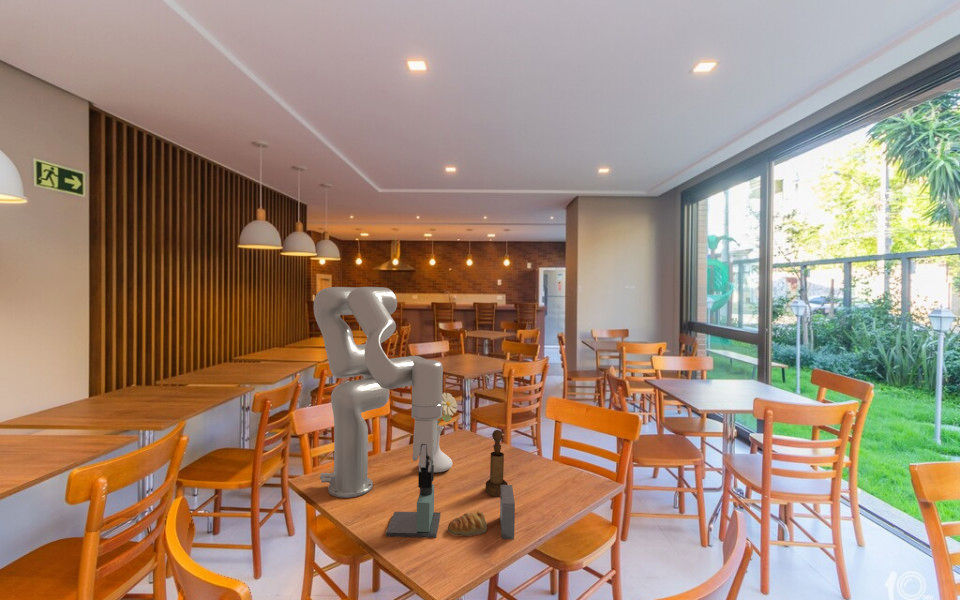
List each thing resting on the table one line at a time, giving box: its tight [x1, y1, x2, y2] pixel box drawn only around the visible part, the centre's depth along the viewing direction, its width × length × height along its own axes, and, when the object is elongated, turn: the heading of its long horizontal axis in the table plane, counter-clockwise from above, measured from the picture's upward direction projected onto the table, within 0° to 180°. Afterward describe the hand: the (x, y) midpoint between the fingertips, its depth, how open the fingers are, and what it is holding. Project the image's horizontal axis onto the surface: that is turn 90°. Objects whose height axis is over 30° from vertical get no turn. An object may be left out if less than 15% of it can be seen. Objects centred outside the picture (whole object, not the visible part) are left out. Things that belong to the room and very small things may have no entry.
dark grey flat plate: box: [385, 511, 441, 539], centre depth 109 cm, size 12×10×1 cm
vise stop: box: [499, 484, 516, 540], centre depth 109 cm, size 3×10×8 cm, turn 179°
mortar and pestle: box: [484, 429, 509, 497], centre depth 129 cm, size 7×6×18 cm
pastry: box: [447, 510, 488, 537], centre depth 108 cm, size 9×7×4 cm
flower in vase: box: [417, 392, 458, 474], centre depth 145 cm, size 13×11×25 cm
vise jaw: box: [416, 457, 435, 532], centre depth 109 cm, size 3×10×16 cm, turn 179°
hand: (426, 483), depth 109 cm, fingers closed on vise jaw, 3 cm apart
